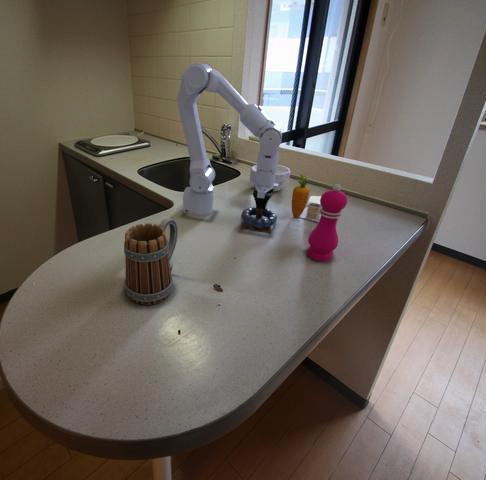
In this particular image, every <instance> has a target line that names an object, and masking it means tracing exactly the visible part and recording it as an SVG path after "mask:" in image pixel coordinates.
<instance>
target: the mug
mask: <svg viewBox="0 0 486 480" xmlns="http://www.w3.org/2000/svg"><path fill="white" fill-rule="evenodd" d="M167 228H169V238H168V237H167V232H166V230H167ZM178 230H179V229H178V224H177V222H176V220H175V219H172V218H169V217H165V218H163V219H161V221H160V222H159V223H158V224H156V223H154V224H152V223H149V222H148V223H147V222H146V223H144V224H143V223H138V224H136V225H135V226H134V225H132V226H131V227H129V228H128V230H126V231H125V233H124V243H123V253H124V258H125V261H124V262H125V263H124V264H125V265H124V267H125V280H124V290H125V293H126V294H125V295H126V296H127V298H128V299H130V301H132V302H134V303H136V304H140V305H145V306H148V305H151V306H152V305H156V304H159V303H161V302H163V301H165V300H166V299H168V298H169V297H170V296H171V294H172V292H173V287H174V283H173V276H172V273H171V272H172V270H173V266H174V265H173V264H171V263H170V262H171V261H170V260H171V259H172V257H173V254H174V252H175V250H176V245H177V241H178V233H179V232H178Z"/></svg>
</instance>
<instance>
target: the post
mask: <svg viewBox="0 0 486 480" xmlns="http://www.w3.org/2000/svg"><path fill="white" fill-rule="evenodd" d="M262 215H263V208H261V207H258V208H257V209H256V215H255V216H254V215H252V216H250V217H253V218H256V219H267V218H266V217H263V216H262ZM273 227H274V225H272V226H270V227H265V228H258V227H252V226H250V225H247V224H245V223H244V222H243V221H242V223H241V226H240V229H241V230H246V231H253V232H259V233H264V234H272V231H273Z"/></svg>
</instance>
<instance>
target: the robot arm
mask: <svg viewBox="0 0 486 480" xmlns="http://www.w3.org/2000/svg"><path fill="white" fill-rule="evenodd" d="M180 78H181V79H180V85H179V89H178V93H177V95H176V96H177V97H176V103H177V108H178V112H179V116H180V121H181V125H182V130H183V134H184V139H185V143H186V148H187V151H188V157H189V160H190V164H189V176H190V177H189V183H188V184H189V186H187V187H185V188H184V190H183V194H182V213H183V214H189V215H194V216H197V217H207V216H210V215H212V214H213V209H214V193H215V192H214V189H215V188H214V186H213V181H214V180H215V178H216V171H215V169H214V168H213V167H212V165H211V160H210V158H209V157H208V155H207V150H206V145H205V141H204V140H205V139H204V136H203V131H202V130H203V129H202V126H201V121H200V116H199V115H200V114H199V111H198V106H197V102H198V100H199V99H200V97H201V96H202V93H203V92H204V91H205V92H207V93H208V92H209V93H214V94H218V95H219V96H220V97H222V98H223V99H224V100H225V102H227V103H228V104H229V105H230V106H231V107H232V108H233V109H234V110H235V111H236V112H237V113H238V114H239V122H241V124H242V125H243V126H244V127H245V128H246V129H247V130H248V131H249V132H250V133H251V134H252V135H253V136H254V137H255V138H258V142H259V145H260V146H259V151H258V156H257V163H256V165H257V170H256V178H255V182H254V183H253V186H254V189H255V190H253V191H252V196H253V199H254V202H255V207H256V209H257V208H258V207H261V208H263V213H264V211H265V208H266V209H267V205H268V202H269V201H270V199H272V197H273V192H274V191H273V190H274V188H278V184H276V183H275V177H276V170H277V165H279V164H278V163H279V157H280V153H279V152H280V148H281V147H280V145H281V144H282V142H283V140H282V139H283V132H282V129H281V127H280V125H279V124H277V123H275V122H276V121H275V120H274V119H270V118H269V117H268V116H267V114H266V113H264V112H263V109H264V108H263V107H262V106H261V105H257V104H255V103H248V102H247V101H246V100H245V99H244V98H243V97H242V95H241V94H240V93H239V92H238V90H236V89H235V88H234V86H232V84H231V83H230V82H229V81H228V79H226V78H225V76H224V75H223V74H222V73H220V72H219V71H218V70H217V69H215V68H214V67H213V65H211V64H210V63H208V62H200V63H198V62H193V63H191V64H189V65H188V66H187V68H186V69H185V70H184V72H183V73H182V74H181V77H180Z"/></svg>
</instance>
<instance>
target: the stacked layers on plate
mask: <svg viewBox="0 0 486 480" xmlns="http://www.w3.org/2000/svg"><path fill="white" fill-rule="evenodd" d="M320 199H321V195H320V196H319V195H311V196H309V198H308V201H307V204H306V206H305V209H304V211H303V213H302V214H301V215H300V217H299V218H302V219H305V220H308V221H312V222H316V223H319V221H320V218H321V214H320V213H319V212H320V208H321V207H322V205H321V203H320Z"/></svg>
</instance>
